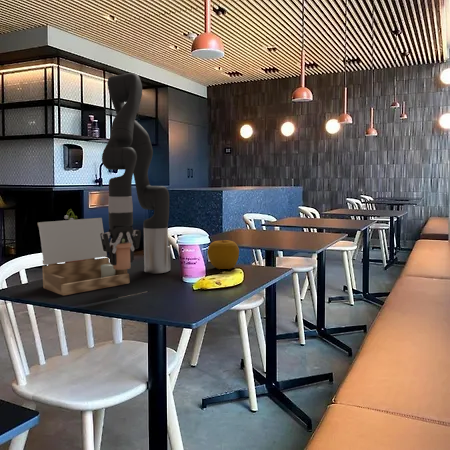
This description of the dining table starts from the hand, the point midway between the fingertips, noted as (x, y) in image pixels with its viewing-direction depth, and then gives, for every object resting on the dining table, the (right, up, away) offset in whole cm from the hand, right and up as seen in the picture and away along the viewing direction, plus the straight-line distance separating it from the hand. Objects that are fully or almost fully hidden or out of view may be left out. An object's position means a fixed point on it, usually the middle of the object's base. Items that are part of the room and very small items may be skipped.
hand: (121, 263), depth 158 cm
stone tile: (0, -9, +1) cm, 9 cm away
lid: (-18, +7, +11) cm, 23 cm away
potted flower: (-24, -7, +32) cm, 40 cm away
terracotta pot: (0, -1, 0) cm, 1 cm away
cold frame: (-15, -9, +9) cm, 19 cm away
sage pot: (-7, -7, +12) cm, 16 cm away
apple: (+32, -5, +41) cm, 52 cm away
